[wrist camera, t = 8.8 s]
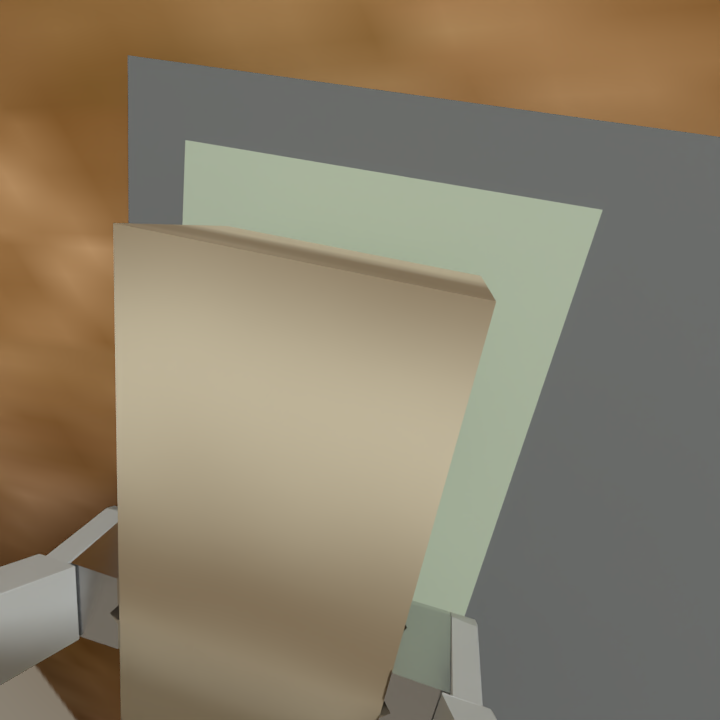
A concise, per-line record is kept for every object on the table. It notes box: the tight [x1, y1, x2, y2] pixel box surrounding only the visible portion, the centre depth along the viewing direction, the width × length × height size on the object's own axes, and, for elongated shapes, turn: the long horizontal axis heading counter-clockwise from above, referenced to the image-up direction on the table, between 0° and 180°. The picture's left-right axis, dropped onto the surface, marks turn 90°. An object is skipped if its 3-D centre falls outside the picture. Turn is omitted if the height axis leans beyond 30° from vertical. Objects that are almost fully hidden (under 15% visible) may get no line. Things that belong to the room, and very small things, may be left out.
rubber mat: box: [128, 56, 720, 720], centre depth 11 cm, size 28×20×1 cm
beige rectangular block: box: [113, 223, 496, 720], centre depth 9 cm, size 14×5×3 cm, turn 170°
